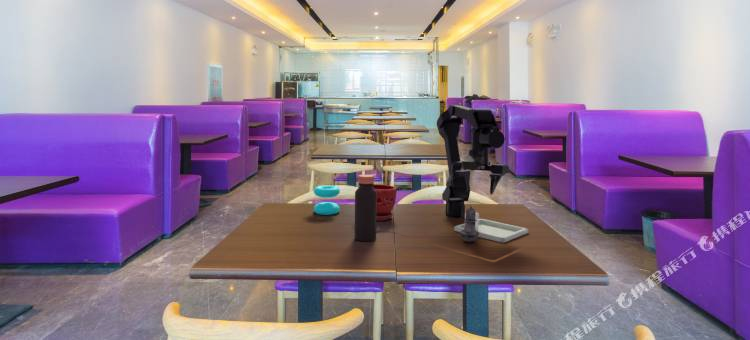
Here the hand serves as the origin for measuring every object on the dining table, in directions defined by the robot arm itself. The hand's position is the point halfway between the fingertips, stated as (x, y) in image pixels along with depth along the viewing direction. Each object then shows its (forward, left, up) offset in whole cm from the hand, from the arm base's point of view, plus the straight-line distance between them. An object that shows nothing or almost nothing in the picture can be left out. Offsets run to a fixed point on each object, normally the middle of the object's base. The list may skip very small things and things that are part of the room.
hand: (479, 192), depth 154 cm
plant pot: (-33, -14, -13) cm, 39 cm away
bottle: (-17, -36, -13) cm, 42 cm away
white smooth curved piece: (+1, -5, -12) cm, 13 cm away
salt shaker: (+8, -16, -13) cm, 22 cm away
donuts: (-52, -23, -13) cm, 59 cm away
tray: (+6, -1, -13) cm, 14 cm away
